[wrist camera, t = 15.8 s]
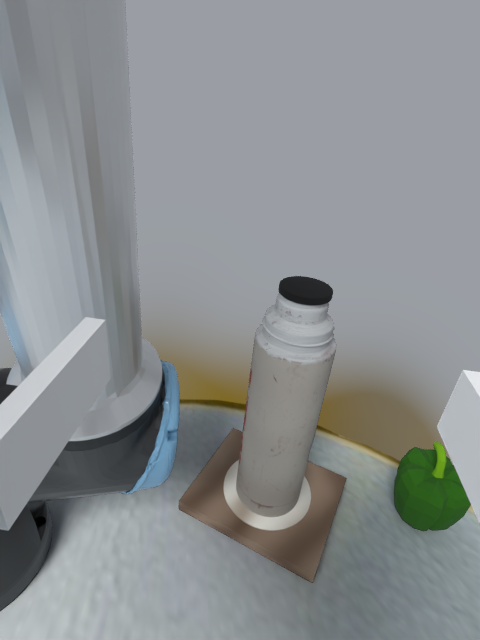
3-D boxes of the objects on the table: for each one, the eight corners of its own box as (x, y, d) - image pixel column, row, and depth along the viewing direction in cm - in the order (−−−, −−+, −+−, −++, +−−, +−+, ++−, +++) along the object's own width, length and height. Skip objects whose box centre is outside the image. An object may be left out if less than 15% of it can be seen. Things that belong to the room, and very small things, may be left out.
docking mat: (178, 509, 48) (179, 499, 47) (232, 435, 59) (233, 427, 58) (312, 583, 42) (315, 574, 41) (344, 485, 53) (346, 477, 52)
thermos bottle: (223, 495, 48) (246, 285, 34) (254, 453, 54) (284, 261, 40) (282, 530, 45) (333, 314, 31) (308, 481, 51) (360, 283, 37)
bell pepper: (450, 558, 45) (484, 503, 40) (379, 521, 49) (402, 466, 44) (456, 504, 52) (486, 450, 47) (392, 474, 55) (414, 422, 50)
